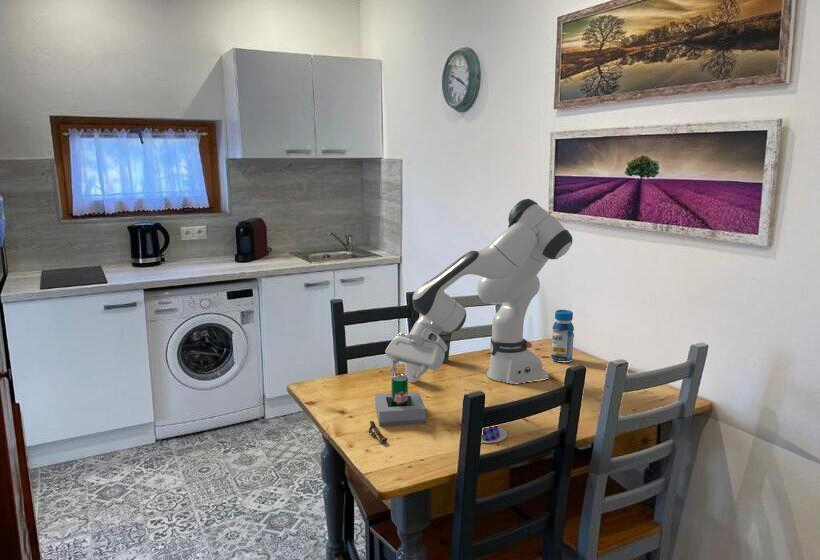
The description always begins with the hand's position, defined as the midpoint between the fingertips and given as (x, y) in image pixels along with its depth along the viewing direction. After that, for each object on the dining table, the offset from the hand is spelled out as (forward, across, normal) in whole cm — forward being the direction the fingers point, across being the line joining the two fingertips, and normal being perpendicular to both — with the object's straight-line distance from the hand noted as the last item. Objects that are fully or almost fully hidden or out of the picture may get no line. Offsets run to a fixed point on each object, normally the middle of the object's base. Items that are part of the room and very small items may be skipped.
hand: (403, 375), depth 188 cm
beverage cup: (-25, -18, +42) cm, 52 cm away
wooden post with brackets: (+23, +6, -6) cm, 24 cm away
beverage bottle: (-46, +19, +63) cm, 80 cm away
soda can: (+10, +1, +5) cm, 12 cm away
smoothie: (-7, -14, +25) cm, 30 cm away
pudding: (+8, +29, +10) cm, 32 cm away
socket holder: (+11, +1, +6) cm, 12 cm away
